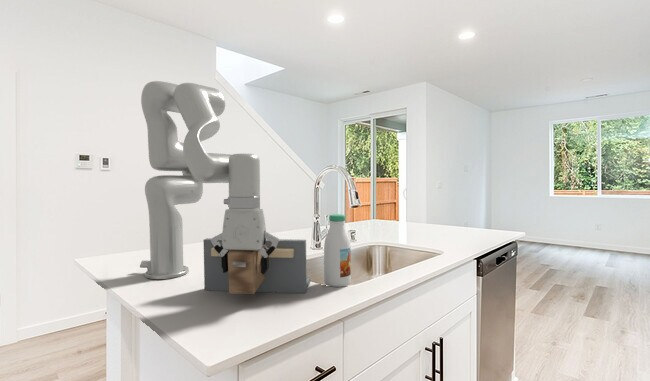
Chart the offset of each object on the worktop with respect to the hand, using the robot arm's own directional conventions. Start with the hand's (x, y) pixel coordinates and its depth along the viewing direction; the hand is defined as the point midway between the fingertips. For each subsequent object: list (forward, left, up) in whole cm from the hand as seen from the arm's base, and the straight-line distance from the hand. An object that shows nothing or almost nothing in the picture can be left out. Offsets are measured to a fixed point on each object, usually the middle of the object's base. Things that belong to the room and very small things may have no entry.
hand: (245, 271), depth 84 cm
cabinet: (0, 0, -4) cm, 4 cm away
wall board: (0, +10, -7) cm, 13 cm away
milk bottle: (+22, +15, -8) cm, 28 cm away
